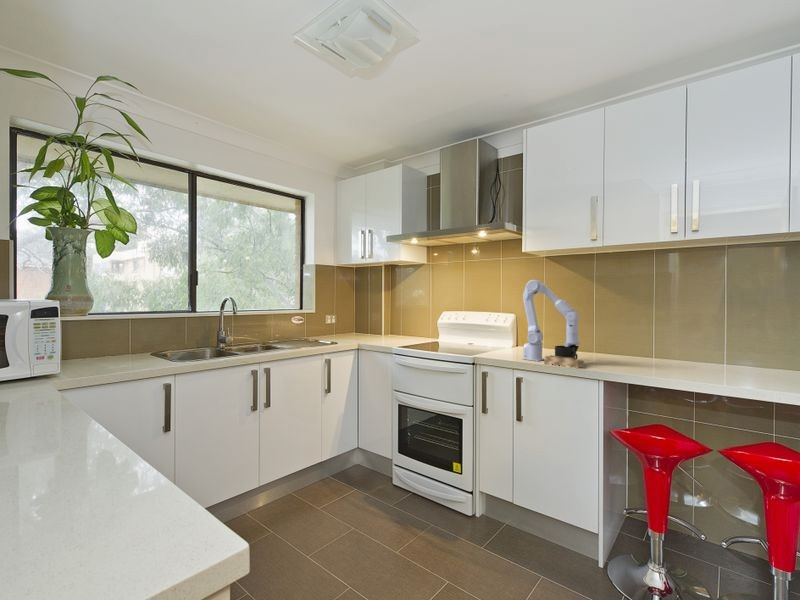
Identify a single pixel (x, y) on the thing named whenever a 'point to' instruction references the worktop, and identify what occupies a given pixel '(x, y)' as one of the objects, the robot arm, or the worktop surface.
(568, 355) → the mug
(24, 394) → the worktop surface
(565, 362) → the brown lumpy block
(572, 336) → the robot arm
